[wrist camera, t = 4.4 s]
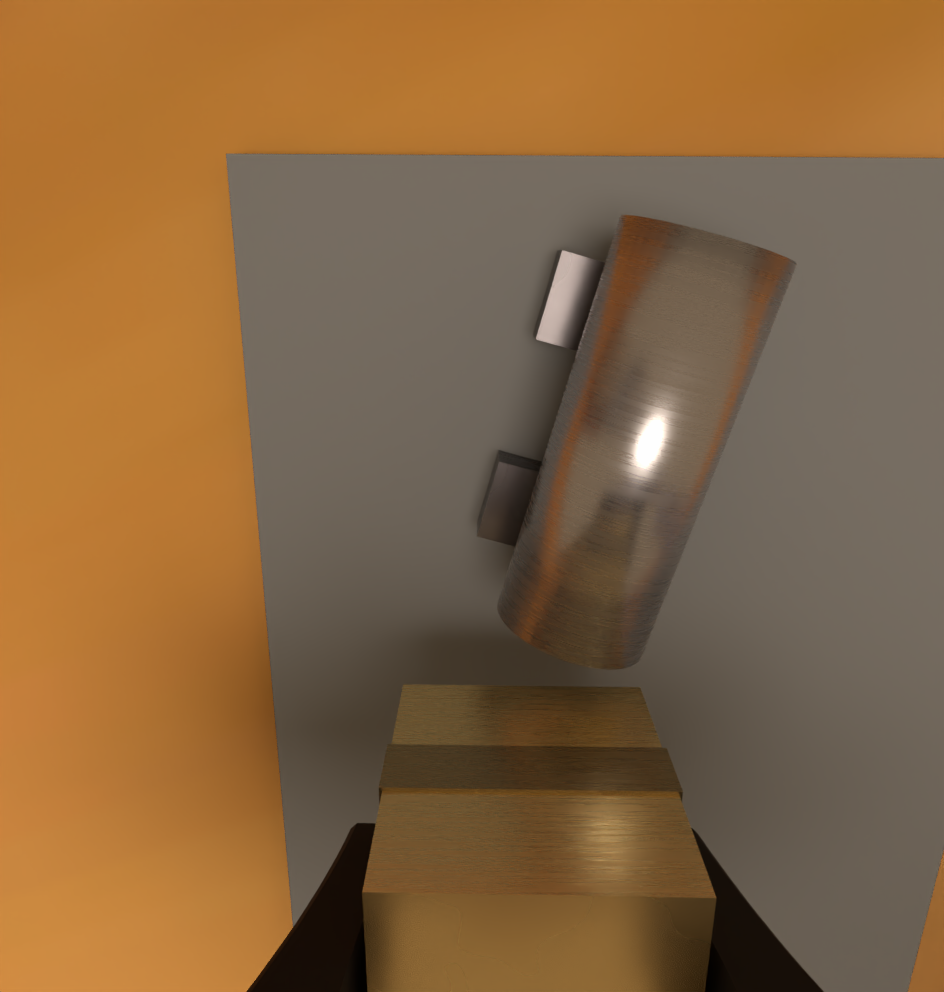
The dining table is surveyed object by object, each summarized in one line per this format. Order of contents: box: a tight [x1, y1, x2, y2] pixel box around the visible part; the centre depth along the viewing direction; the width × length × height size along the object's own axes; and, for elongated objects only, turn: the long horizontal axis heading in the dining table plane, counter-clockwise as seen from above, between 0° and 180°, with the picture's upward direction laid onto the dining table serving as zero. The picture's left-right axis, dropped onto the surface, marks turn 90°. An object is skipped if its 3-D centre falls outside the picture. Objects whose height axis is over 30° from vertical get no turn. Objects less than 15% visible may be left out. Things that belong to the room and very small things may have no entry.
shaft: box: [477, 215, 797, 670], centre depth 13 cm, size 7×4×4 cm, turn 165°
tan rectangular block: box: [362, 684, 716, 992], centre depth 12 cm, size 4×4×5 cm
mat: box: [226, 154, 944, 992], centre depth 17 cm, size 16×21×1 cm
